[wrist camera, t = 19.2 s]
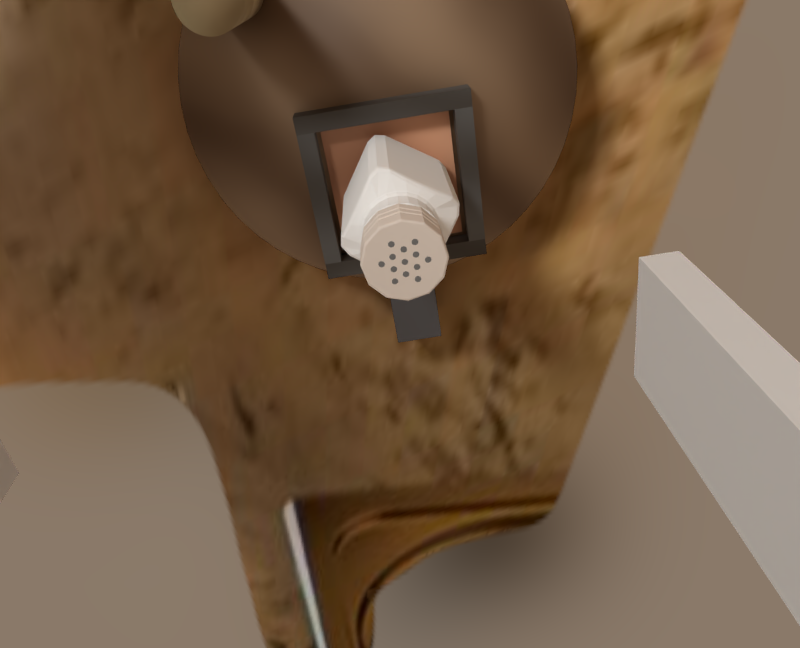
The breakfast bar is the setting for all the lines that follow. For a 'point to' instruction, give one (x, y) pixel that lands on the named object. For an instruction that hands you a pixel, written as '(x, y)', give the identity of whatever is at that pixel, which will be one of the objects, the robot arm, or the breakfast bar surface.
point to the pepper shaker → (399, 218)
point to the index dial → (374, 107)
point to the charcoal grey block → (416, 317)
